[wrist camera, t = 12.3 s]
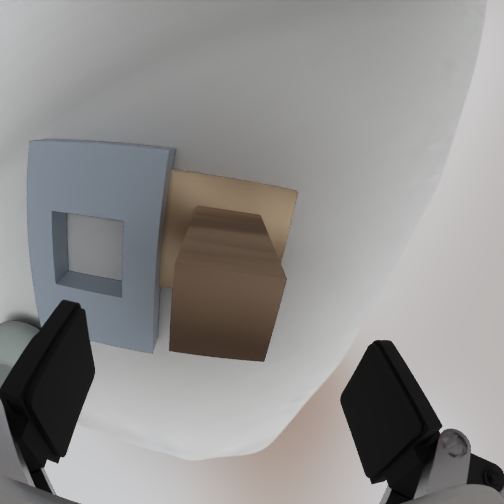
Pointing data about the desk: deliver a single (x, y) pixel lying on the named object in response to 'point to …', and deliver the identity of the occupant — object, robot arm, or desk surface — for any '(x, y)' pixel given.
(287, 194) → the cork mat
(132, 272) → the holder
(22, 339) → the air freshener
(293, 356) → the desk surface
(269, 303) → the walnut block
